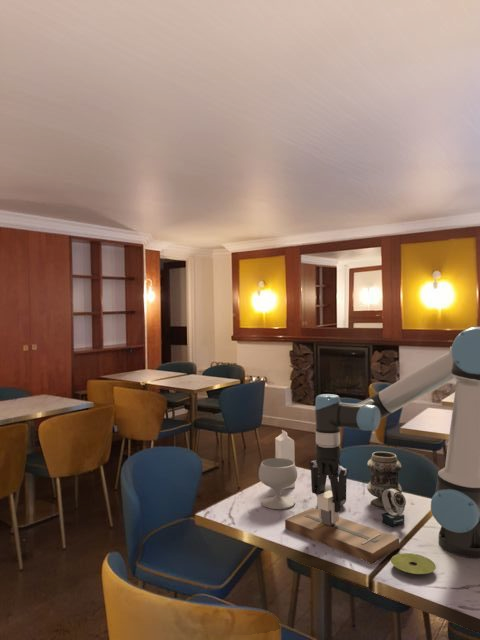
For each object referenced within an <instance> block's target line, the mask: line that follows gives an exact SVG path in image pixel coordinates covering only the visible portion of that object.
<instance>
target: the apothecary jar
mask: <svg viewBox="0 0 480 640" xmlns="http://www.w3.org/2000/svg"><path fill="white" fill-rule="evenodd" d="M367 467H368V469H369V470H370V481H369V482H368V483H367V486H366V487H367V491H368V492H369V494H370V495H372V496H374V497H375V498H373V499H372V500H370V505H371V506H372V507H375V508H377V509H381V510H385V508H384V505H383V502H382V494H383V492H384V491H385V490H388V489H395V490H397V491H399V492H400V493H401V494H403V487H402V486H401V484H400V483H399V472H400V471H401V470H402V463H401V462H400V461H399V460H398V458H397V455H396V453H393V452H388V451H375V452H372V454H371V458H370V459H369V460H368V461H367ZM387 497H388V499H389V503H390V506H391V509H392V510H395V509H396V507H395V506H394V505H393V503H392V501H391V494H390V491H389V492H388V494H387Z"/></svg>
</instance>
